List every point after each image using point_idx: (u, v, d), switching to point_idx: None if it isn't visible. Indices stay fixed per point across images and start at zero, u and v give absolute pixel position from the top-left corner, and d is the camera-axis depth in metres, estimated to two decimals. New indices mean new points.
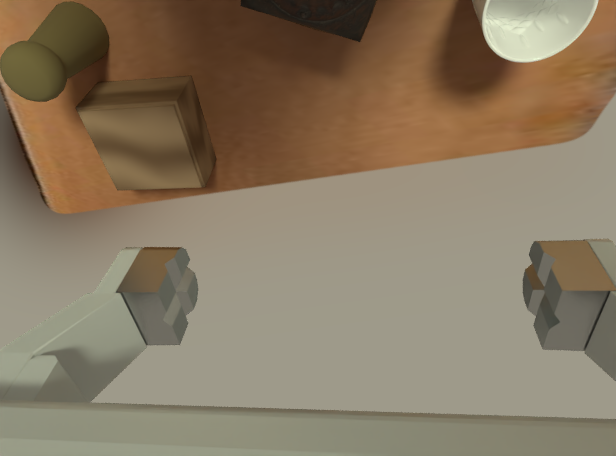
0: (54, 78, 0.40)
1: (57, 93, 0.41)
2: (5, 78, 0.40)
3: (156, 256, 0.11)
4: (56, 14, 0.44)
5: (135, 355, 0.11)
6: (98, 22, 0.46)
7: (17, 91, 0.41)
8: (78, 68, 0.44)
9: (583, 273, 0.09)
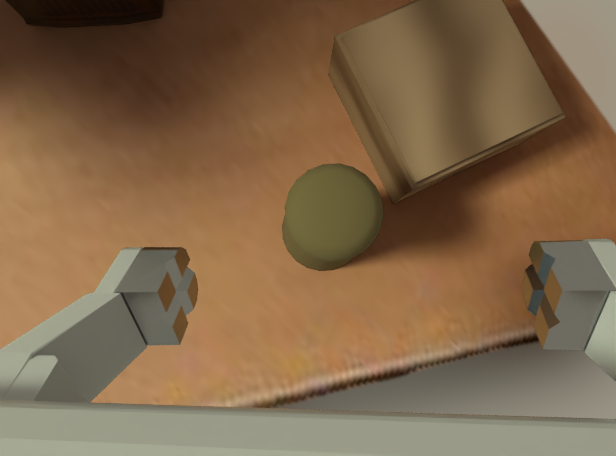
0: (320, 167, 0.24)
1: None
2: (347, 242, 0.23)
3: (156, 256, 0.11)
4: (289, 240, 0.31)
5: (135, 355, 0.11)
6: None
7: (367, 224, 0.23)
8: None
9: (583, 273, 0.09)
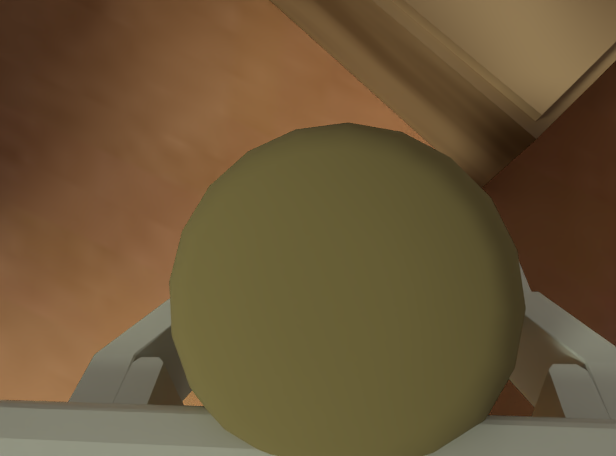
0: (237, 163, 0.07)
1: None
2: (425, 421, 0.05)
3: None
4: None
5: None
6: None
7: (480, 319, 0.05)
8: None
9: None
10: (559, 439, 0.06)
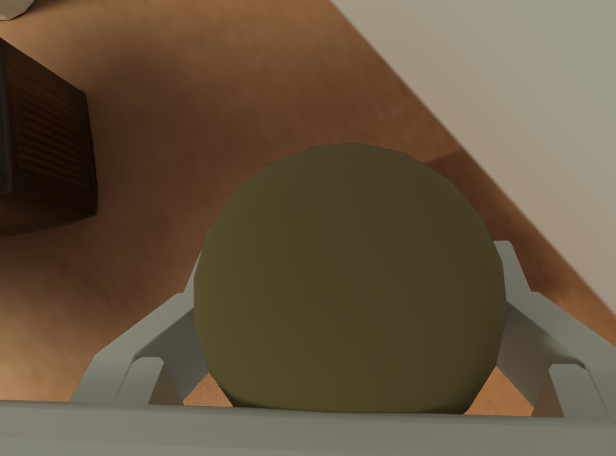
0: (258, 175, 0.07)
1: (354, 144, 0.08)
2: (414, 408, 0.06)
3: None
4: None
5: None
6: None
7: (466, 323, 0.06)
8: None
9: None
10: (559, 439, 0.06)
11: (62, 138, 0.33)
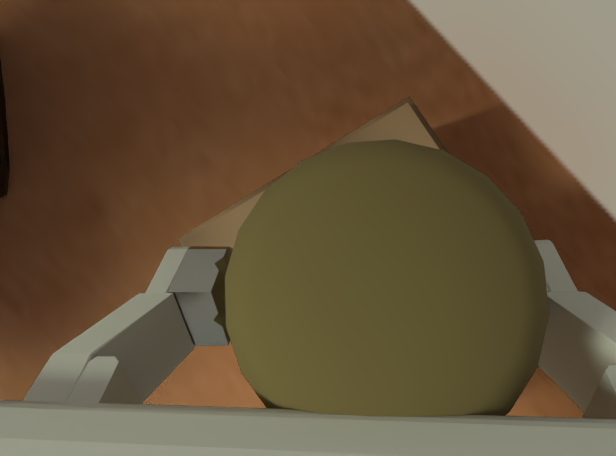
0: (293, 171, 0.07)
1: None
2: (462, 410, 0.06)
3: (205, 255, 0.10)
4: None
5: (184, 356, 0.10)
6: None
7: (514, 323, 0.06)
8: None
9: None
10: (559, 439, 0.06)
11: None
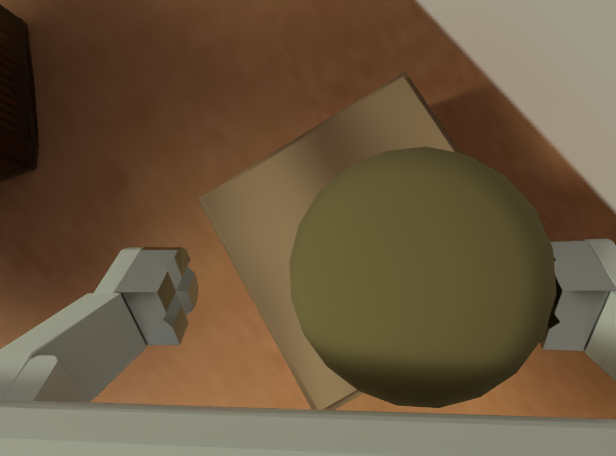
0: (338, 178, 0.09)
1: (419, 148, 0.09)
2: (467, 369, 0.08)
3: (156, 256, 0.11)
4: None
5: (135, 355, 0.11)
6: None
7: (513, 303, 0.07)
8: None
9: (583, 274, 0.09)
10: (559, 439, 0.06)
11: None
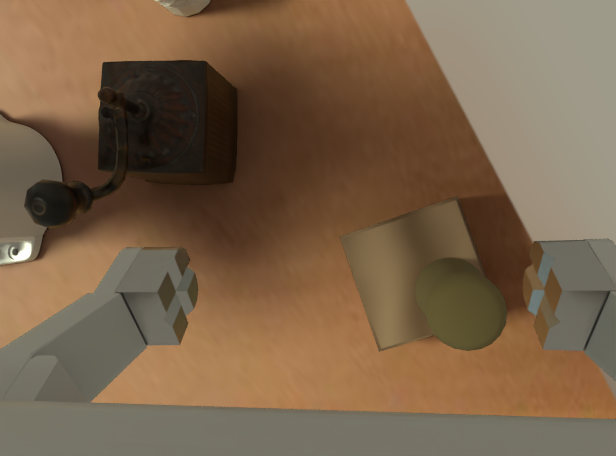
0: (450, 280, 0.30)
1: (476, 276, 0.30)
2: (480, 341, 0.29)
3: (156, 256, 0.11)
4: (425, 311, 0.38)
5: (135, 355, 0.11)
6: (423, 271, 0.40)
7: (495, 325, 0.29)
8: (463, 272, 0.34)
9: (583, 273, 0.09)
10: (559, 439, 0.06)
11: (224, 128, 0.46)
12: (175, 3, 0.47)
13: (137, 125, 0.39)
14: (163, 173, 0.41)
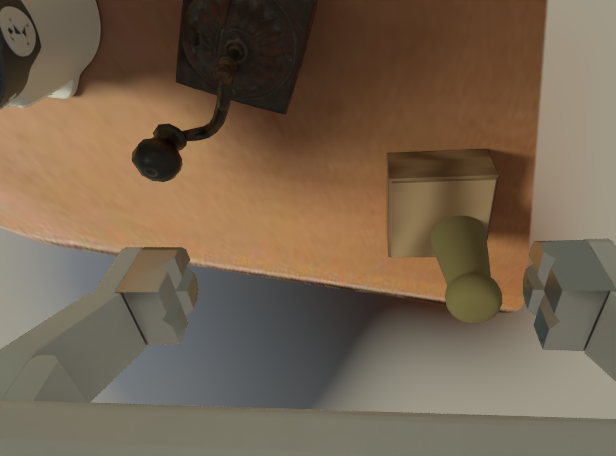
0: (474, 288, 0.42)
1: (492, 288, 0.42)
2: (476, 322, 0.44)
3: (156, 256, 0.11)
4: (436, 256, 0.50)
5: (135, 355, 0.11)
6: (445, 223, 0.50)
7: (489, 317, 0.44)
8: (479, 255, 0.46)
9: (583, 273, 0.09)
10: (559, 439, 0.06)
11: None
12: None
13: None
14: (245, 103, 0.41)
